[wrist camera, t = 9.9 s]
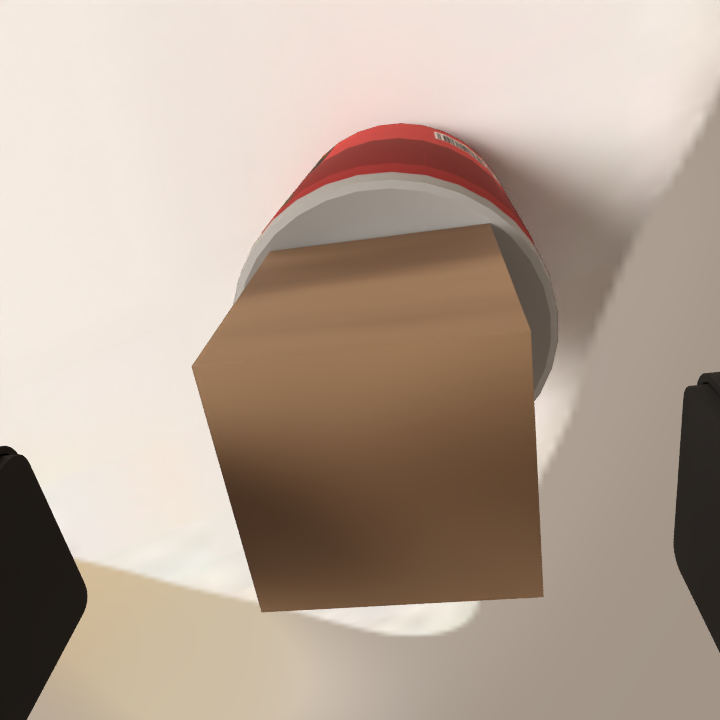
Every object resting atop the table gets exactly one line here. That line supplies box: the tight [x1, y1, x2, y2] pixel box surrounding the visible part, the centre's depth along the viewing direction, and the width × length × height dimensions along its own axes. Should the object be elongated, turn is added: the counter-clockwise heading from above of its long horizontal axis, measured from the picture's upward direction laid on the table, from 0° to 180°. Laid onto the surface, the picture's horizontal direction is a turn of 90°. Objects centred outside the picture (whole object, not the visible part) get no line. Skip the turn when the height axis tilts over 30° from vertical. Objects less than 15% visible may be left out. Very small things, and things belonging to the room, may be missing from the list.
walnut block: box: [192, 223, 543, 612], centre depth 14 cm, size 5×5×6 cm
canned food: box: [233, 123, 558, 401], centre depth 21 cm, size 8×8×11 cm
